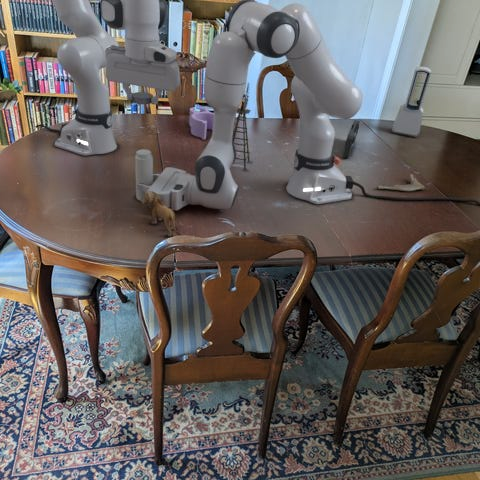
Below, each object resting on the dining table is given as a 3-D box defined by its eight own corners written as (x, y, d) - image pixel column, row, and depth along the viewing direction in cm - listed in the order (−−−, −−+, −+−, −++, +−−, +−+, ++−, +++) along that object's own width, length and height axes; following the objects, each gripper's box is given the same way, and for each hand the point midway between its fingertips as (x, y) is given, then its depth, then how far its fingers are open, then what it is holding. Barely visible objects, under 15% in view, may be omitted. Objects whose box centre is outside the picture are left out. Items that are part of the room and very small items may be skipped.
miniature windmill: (245, 170, 170) (254, 87, 153) (222, 166, 171) (229, 83, 154) (250, 161, 177) (258, 80, 161) (228, 157, 178) (235, 77, 162)
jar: (138, 192, 148) (137, 147, 140) (154, 194, 148) (154, 149, 140) (134, 200, 144) (132, 154, 136) (151, 202, 144) (150, 156, 136)
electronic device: (418, 133, 224) (438, 69, 207) (417, 138, 218) (438, 72, 201) (391, 128, 226) (409, 64, 210) (390, 133, 220) (409, 67, 204)
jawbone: (429, 189, 172) (431, 184, 171) (394, 201, 161) (396, 196, 160) (410, 177, 177) (412, 172, 176) (375, 189, 167) (376, 184, 165)
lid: (148, 105, 127) (148, 99, 126) (128, 102, 128) (128, 95, 127) (156, 100, 132) (156, 94, 131) (137, 96, 133) (137, 90, 132)
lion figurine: (138, 219, 134) (138, 191, 130) (153, 213, 138) (152, 186, 133) (173, 240, 127) (174, 211, 122) (187, 233, 131) (188, 205, 126)
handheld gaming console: (349, 160, 187) (354, 136, 182) (342, 158, 188) (347, 134, 183) (355, 142, 206) (361, 119, 201) (349, 140, 207) (354, 118, 201)
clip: (182, 123, 206) (183, 107, 202) (209, 122, 210) (210, 106, 207) (197, 140, 191) (197, 123, 187) (225, 138, 195) (226, 122, 191)
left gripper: (99, 46, 121) (102, 99, 129) (175, 57, 119) (174, 111, 126) (109, 41, 126) (112, 93, 134) (182, 53, 124) (180, 104, 132)
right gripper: (194, 166, 149) (153, 159, 150) (175, 194, 132) (128, 186, 133) (193, 183, 152) (153, 177, 154) (174, 213, 135) (129, 205, 137)
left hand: (142, 101), depth 130 cm, fingers closed on lid, 5 cm apart
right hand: (141, 181), depth 143 cm, fingers closed on jar, 5 cm apart
